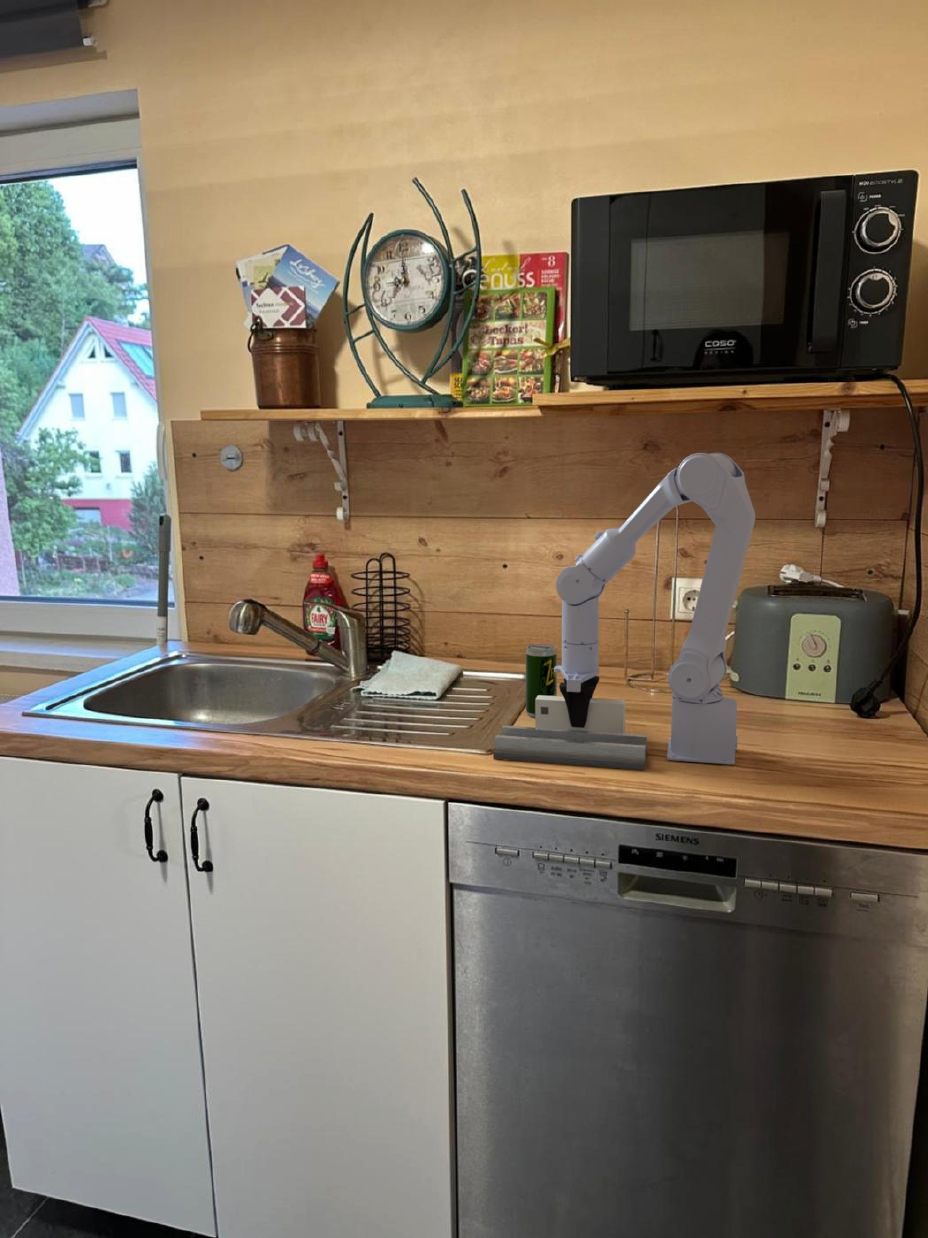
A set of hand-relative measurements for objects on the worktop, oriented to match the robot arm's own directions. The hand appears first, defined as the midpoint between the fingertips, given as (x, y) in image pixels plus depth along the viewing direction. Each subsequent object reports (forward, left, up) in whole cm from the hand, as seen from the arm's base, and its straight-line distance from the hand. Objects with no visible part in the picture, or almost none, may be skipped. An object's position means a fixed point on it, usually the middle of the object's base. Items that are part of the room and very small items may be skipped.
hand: (579, 723), depth 133 cm
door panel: (0, 0, -2) cm, 2 cm away
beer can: (+8, -10, -2) cm, 13 cm away
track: (0, +10, -2) cm, 10 cm away
